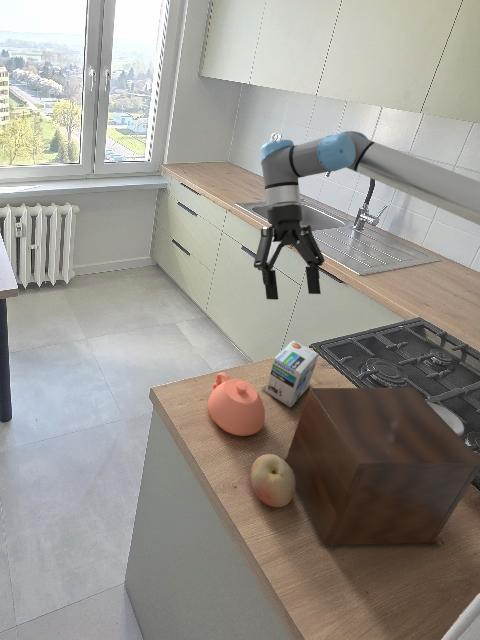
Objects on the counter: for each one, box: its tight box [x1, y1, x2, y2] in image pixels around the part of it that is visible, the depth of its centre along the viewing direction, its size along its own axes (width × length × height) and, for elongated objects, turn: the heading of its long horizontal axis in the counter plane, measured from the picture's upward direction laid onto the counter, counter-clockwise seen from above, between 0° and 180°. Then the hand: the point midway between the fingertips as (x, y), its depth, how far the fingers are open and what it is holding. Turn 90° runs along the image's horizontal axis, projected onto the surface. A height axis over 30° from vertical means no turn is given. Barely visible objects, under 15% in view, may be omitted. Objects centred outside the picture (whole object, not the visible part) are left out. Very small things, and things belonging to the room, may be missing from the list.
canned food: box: [426, 401, 465, 439], centre depth 87 cm, size 8×8×11 cm
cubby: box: [284, 387, 480, 546], centre depth 75 cm, size 20×15×21 cm
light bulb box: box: [265, 340, 320, 408], centre depth 102 cm, size 11×7×11 cm, turn 132°
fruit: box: [249, 453, 297, 508], centre depth 78 cm, size 8×8×8 cm
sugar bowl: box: [207, 371, 266, 437], centre depth 94 cm, size 12×14×10 cm
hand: (294, 296), depth 97 cm, fingers open, 13 cm apart
